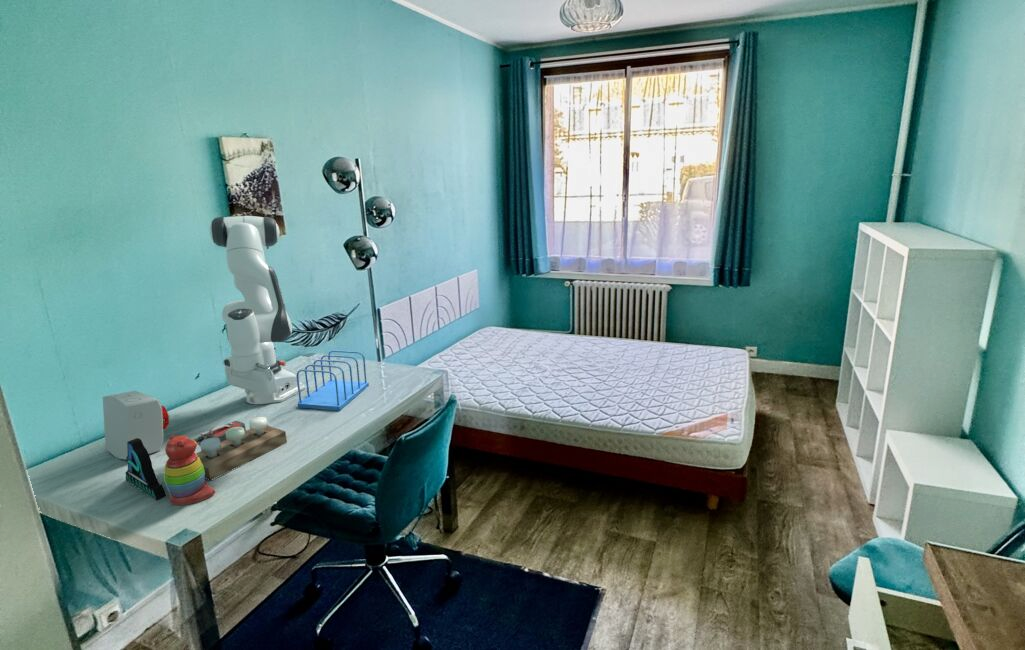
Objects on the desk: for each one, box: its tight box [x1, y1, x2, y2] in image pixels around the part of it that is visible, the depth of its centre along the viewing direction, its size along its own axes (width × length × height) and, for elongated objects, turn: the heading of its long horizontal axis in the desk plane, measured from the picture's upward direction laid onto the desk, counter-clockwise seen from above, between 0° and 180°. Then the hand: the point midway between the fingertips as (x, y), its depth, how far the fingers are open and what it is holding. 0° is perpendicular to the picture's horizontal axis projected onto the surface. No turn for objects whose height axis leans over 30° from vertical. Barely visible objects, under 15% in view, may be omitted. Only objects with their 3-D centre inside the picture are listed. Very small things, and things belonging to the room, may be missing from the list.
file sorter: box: [296, 350, 370, 411], centre depth 210 cm, size 25×17×15 cm
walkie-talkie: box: [192, 420, 247, 442], centre depth 179 cm, size 9×4×20 cm
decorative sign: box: [125, 438, 167, 502], centre depth 150 cm, size 19×2×15 cm, turn 56°
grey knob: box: [199, 438, 221, 459], centre depth 160 cm, size 5×5×5 cm
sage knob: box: [225, 427, 245, 448], centre depth 167 cm, size 5×5×5 cm
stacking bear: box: [163, 434, 216, 506], centre depth 145 cm, size 11×10×18 cm
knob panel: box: [195, 425, 288, 481], centre depth 168 cm, size 26×12×4 cm, turn 150°
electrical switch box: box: [102, 390, 170, 460], centre depth 173 cm, size 15×15×20 cm
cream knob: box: [248, 416, 269, 437], centre depth 173 cm, size 5×5×5 cm
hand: (254, 402), depth 171 cm, fingers closed
